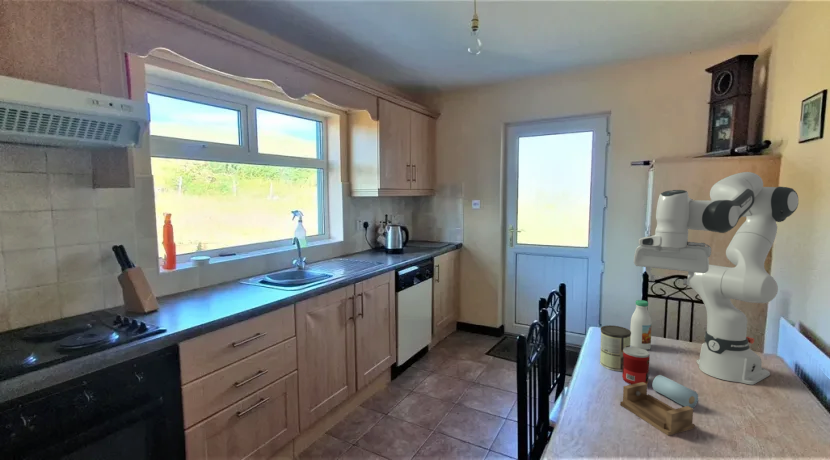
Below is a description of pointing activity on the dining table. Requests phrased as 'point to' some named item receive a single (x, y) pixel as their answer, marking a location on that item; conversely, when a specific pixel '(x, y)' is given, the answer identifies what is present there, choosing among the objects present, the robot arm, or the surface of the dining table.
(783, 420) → the dining table surface
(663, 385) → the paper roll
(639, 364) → the canned food
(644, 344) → the milk bottle
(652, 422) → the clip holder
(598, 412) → the dining table surface
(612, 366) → the coffee can
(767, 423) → the dining table surface
